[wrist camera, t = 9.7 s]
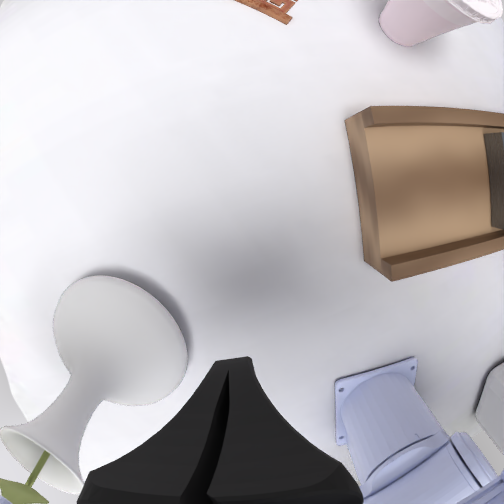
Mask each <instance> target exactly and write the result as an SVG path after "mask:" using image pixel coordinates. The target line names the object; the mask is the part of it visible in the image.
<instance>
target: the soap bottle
mask: <svg viewBox="0 0 504 504" xmlns="http://www.w3.org/2000/svg"><path fill="white" fill-rule="evenodd" d="M476 419H477V421H478V423H479V425H480V426H481V427H482V428H483V430H484V431H485V432H486V433H487V435H488V436H489V437H490V439H491V440H492V441H493V443H494V444H495V445H496V446H497V448H498V449H499V450H500V452H501V453H502V454H503V455H504V362H503V363H502V364H500V365H498V366H497V367H495V368H494V369H493V370H492V371H491V372H490V373H489V375H488V377H487V380H486V383H485V386H484V389H483V392H482V395H481V398H480V401H479V404H478V407H477V410H476Z"/></svg>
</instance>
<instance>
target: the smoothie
mask: <svg viewBox="0 0 504 504" xmlns="http://www.w3.org/2000/svg"><path fill="white" fill-rule="evenodd" d="M502 12H503V7H502V3H501V0H388V2H387V4H386V6H385V7H384V9H383V11H382V12H381V14H380V16H379V23H380V26H381V28H382V30H383V32H384V33H385V34H386V35H387V36H388V37H389V38H390V39H391V40H392V41H394V42H395V43H397V44H399V45H402V46H407V47H409V46H413V45H416V44H418V43H421V42H423V41H425V40H428V39H431V38H433V37H436V36H438V35H441V34H444V33H446V32H449V31H452V30H455V29H458V28H460V27H463V26H467V25H470V24H473V23H476V22H480V23H483V24H490V23H492V22H493V21H495V20H496V19H498V18H500V17H501V15H502Z"/></svg>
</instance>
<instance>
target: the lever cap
mask: <svg viewBox="0 0 504 504" xmlns="http://www.w3.org/2000/svg"><path fill="white" fill-rule="evenodd" d="M484 139H485V145H486V152H487V160H488V168H489V179H490V192H491V220H492V227H495V228H498V229H502V230H504V132H498V133H487V134H484Z"/></svg>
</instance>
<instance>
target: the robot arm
mask: <svg viewBox="0 0 504 504" xmlns="http://www.w3.org/2000/svg"><path fill="white" fill-rule="evenodd" d="M417 364H418V360H417V359H416V358H414V357H413V358H410V359H407V360H404V361H401V362H398V363H395V364H392V365H389V366H386V367H382V368H379V369H376V370H373V371H369V372H366V373H362V374H359V375H355V376H351V377H347V378H343V379H340V380H338V381H336V383H335V405H336V444H337V445H339V446H340V445H344V444H347V447H348V449H349V452H350V455H351V458H352V461H353V464H354V467H355V470H356V473H357V475H358V478H359V481H360V483H361V486H360V487H359V486H358V484H357V483H356V481H355V480H354V478H353V477H352V476H351V474H350V473H349V472H348V470H347V469H346V468H345V467H344V465H343V464H342V463H341V462H339V461H337V460H336V459H334V458H332V457H330V456H329V455H327V454H326V453H324V452H323V451H321V450H320V449H318V448H317V447H316V446H314V445H313V444H312V443H310V442H309V441H308V440H307V439H305V438H304V437H303V436H302V435H301V434H300V433H299V432H297V431H296V430H295V429H294V428H293V427H292V426H291V425H290V424H289V423H288V422H287V421H286V420H285V419H284V418H283V416H282V415H281V414H280V413H279V412H278V411H277V409H276V408H275V407H274V405H273V404H272V403H271V401H270V400H269V398H268V397H267V395H266V394H265V392H264V391H263V389H262V387H261V385H260V383H259V382H258V380H257V378H256V375H255V371H254V367H253V363H252V358H250V357H248V356H247V357H241V358H234V359H227V360H219V361H215V363H214V364H213V365H212V367H211V369H210V370H209V372H208V373H207V375H206V376H205V378H204V379H203V381H202V382H201V384H200V385H199V387H198V388H197V389H196V391H195V392H194V394H193V395H192V396H191V398H190V399H189V400H188V401H187V403H186V404H185V405H184V406H183V407H182V409H181V410H180V411H179V412H178V413H177V414H176V415H175V416H174V418H173V419H172V420H171V421H169V422H168V423H167V424H166V425H165V426H164V427H163V428H162V429H161V430H160V431H158V432H157V433H156V434H155V435H153V436H152V437H151V438H149V439H148V440H147V441H146V442H144V443H143V444H142V445H140V446H139V447H137V448H136V449H134V450H132V451H131V452H129V453H128V454H126V455H124V456H122V457H121V458H119V459H117V460H115V461H113V462H111V463H109V464H106V465H104V466H102V467H100V468H97V469H95V470H93V471H90V473H89V474H88V477H87V479H86V481H85V483H84V486H83V488H82V491H81V493H80V496H79V498H78V500H77V504H504V470H503V471H502V473H501V475H500V476H498V475H497V474H496V472H495V471H494V469H493V467H492V466H491V465H490V463H489V462H488V460H487V459H486V457H485V456H484V455H483V453H482V452H481V450H480V449H479V448H478V446H477V445H476V444H475V443H474V441H473V440H472V439H471V437H470V436H469V435H468V434H467V433H466V432H461V433H459V432H455V433H454V434H453V435H452V436H451V437H449V436H448V435H447V434H446V432H445V431H444V429H443V428H442V426H441V425H440V423H439V422H438V421H437V419H436V418H435V416H434V415H433V413H432V412H431V411H430V409H429V408H428V406H427V405H426V403H425V402H424V401H423V399H422V398H421V396H420V395H419V394H418V392H417V391H416V390H415V388H414V383H415V377H416V371H417ZM412 366H413V367H412ZM411 367H412V368H411ZM340 388H342V389H340ZM339 389H340V390H339ZM0 504H12V503H11V502H10V501H9V500H7V499H6V498H4V497H3V496H1V495H0Z"/></svg>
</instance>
